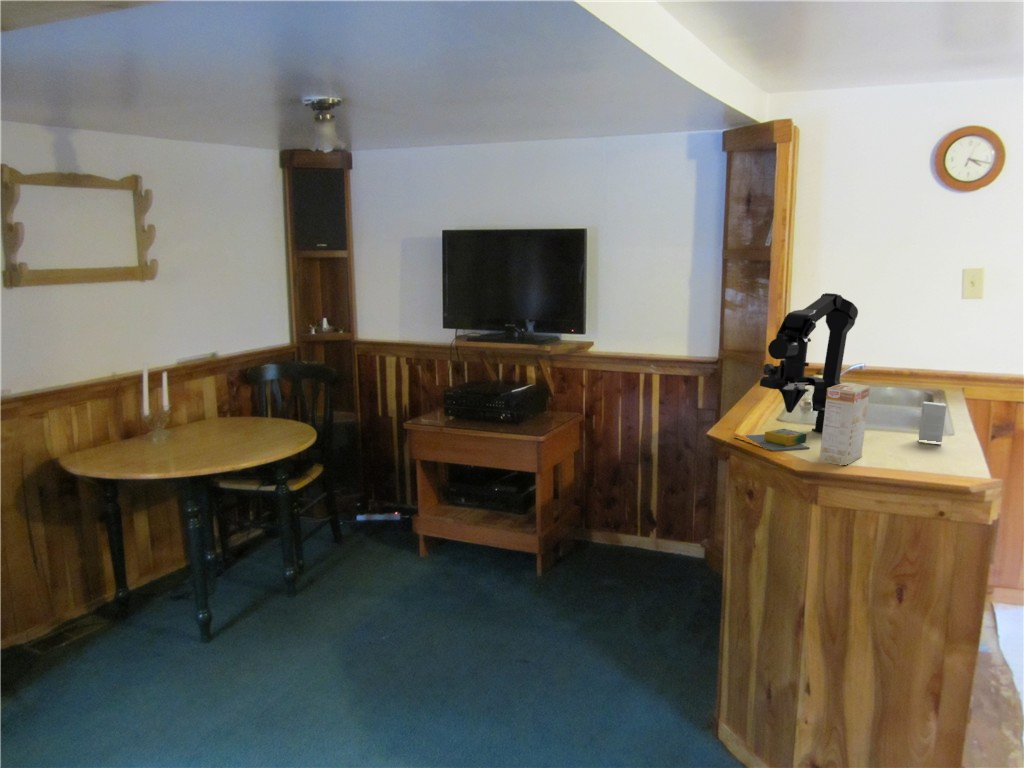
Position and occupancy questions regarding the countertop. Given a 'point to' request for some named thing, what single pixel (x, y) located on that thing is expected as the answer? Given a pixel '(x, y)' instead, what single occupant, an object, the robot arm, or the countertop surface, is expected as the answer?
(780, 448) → the mat
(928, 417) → the skincare box
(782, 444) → the crayon box
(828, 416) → the coffeecake box
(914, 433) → the countertop surface
